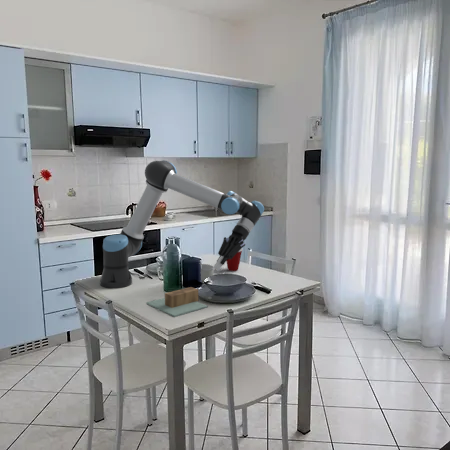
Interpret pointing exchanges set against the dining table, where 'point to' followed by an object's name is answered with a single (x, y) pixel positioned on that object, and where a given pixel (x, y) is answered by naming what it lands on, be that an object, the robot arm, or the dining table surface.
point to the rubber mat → (176, 310)
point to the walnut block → (181, 297)
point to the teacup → (206, 271)
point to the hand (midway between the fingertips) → (215, 269)
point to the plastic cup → (234, 261)
